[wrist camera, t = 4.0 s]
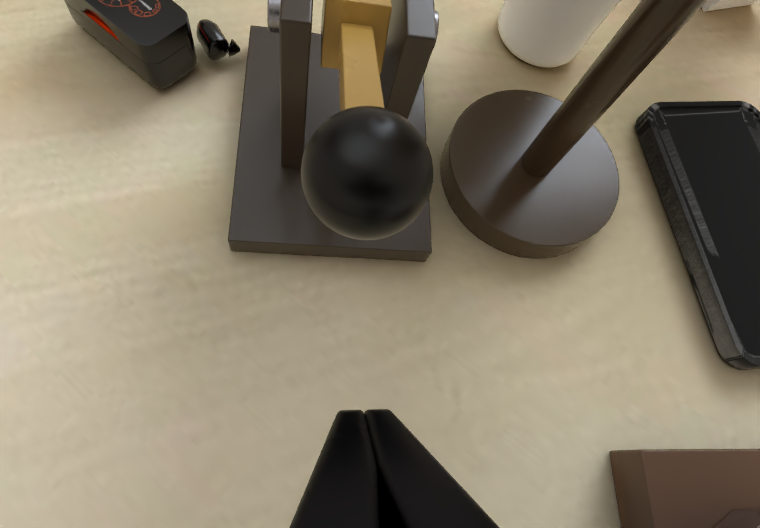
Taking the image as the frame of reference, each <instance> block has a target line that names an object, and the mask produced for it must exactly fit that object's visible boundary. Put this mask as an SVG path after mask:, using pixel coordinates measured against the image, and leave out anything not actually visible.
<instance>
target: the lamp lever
mask: <svg viewBox="0 0 760 528" xmlns="http://www.w3.org/2000/svg"><path fill="white" fill-rule="evenodd" d="M391 11H392V5H391V0H323V12H322V25H321V67H324V68H333V69H339V94H340V112H338V113H336V114H334V115H333V116H331V117H330V118H328V119H327V120H325V121H324V122H323V123H322V124H321V125H320V126H319V127H318V128H317V129H316V131H315V132H314V133H313V135H312V136H311V138H310V139H309V141H308V143H307V145H306V148H305V151H304V154H303V157H302V164H301V183H302V188H303V192H304V195H305V197H306V200H307V202H308V204H309V206H310V208H311V209H312V211H313V212H314V214H315V215H316V216H317V217H318V218H319V219H320V220H321V222H322V223H324V224H325V225H326V226H327V227H329V228H330V229H332V230H333V231H335V232H337V233H338V234H340V235H343V236H345V237H349V238H352V239H357V240H377V239H382V238H386V237H389V236H392V235H394V234H396V233H398V232H400V231H401V230H403V229H405V228H406V227H407V226H408V225H410V224H411V223H412V222H413V221H414V220H415V219H416V218H417V216H418V215H419V214H420V213H421V211H422V210H423V208H424V206H425V205H426V203H427V201H428V198H429V195H430V192H431V188H432V183H433V164H432V158H431V154H430V151H429V148H428V146H427V144H426V142H425V140H424V138H423V137H422V135H421V134H420V132H419V131H418V130H417V128H416V127H415V126H414V125H413V124H412V123H410V122H409V121H408V120H407V119H406V118H404V117H403V116H401V115H399V114H397V113H396V112H394V111H391V110H389V109H386V108H384V101H383V94H382V87H381V81H380V74H381V71H382V65H383V59H384V53H385V47H386V41H387V35H388V29H389V23H390V17H391Z"/></svg>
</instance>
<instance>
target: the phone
mask: <svg viewBox="0 0 760 528" xmlns="http://www.w3.org/2000/svg"><path fill="white" fill-rule="evenodd" d="M635 127H636V132H637V134H638V137H639V140H640V142H641V145H642V148H643V150H644V153H645V156H646V159H647V161H648V164H649V167H650V169H651V172H652V175H653V177H654V180H655V183H656V185H657V188H658V191H659V194H660V196H661V199H662V202H663V204H664V207H665V210H666V212H667V215H668V218H669V220H670V223H671V226H672V229H673V231H674V234H675V237H676V239H677V242H678V245H679V247H680V250H681V253H682V255H683V258H684V261H685V263H686V266H687V269H688V272H689V274H690V277H691V280H692V282H693V285H694V288H695V290H696V293H697V296H698V298H699V301H700V304H701V306H702V309H703V312H704V315H705V317H706V320H707V323H708V325H709V328H710V331H711V333H712V336H713V339H714V341H715V344H716V347H717V349H718V351H719V353H720V355H721V357H722V358H723V359H724V360H725V361H726V362H727V363H728V364H729V365H731V366H732V367H734V368H737V369H742V370H747V369H754V368H760V112H759V111H758V110H757V109H756V108H755V107H754V106H752V105H751V104H749V103H747V102H743V101H707V102H659V103H654V104H653V105H651V106H650V107H649V108H648V109H647V110H646V111H645V112H644V113H643V114H642V115H641V116H640V117H639V118H638V119H637V121H636V126H635Z"/></svg>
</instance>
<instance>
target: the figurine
mask: <svg viewBox="0 0 760 528" xmlns="http://www.w3.org/2000/svg"><path fill="white" fill-rule="evenodd" d="M759 1H760V0H707V1H706V2H705V3H704V4H703V5H702V6H701V8H702V9H703V11H704V12H706V11H712V10H719V9H725V8H732V7H739V6H745V5H752V4H754V3H757V2H759Z"/></svg>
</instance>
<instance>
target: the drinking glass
mask: <svg viewBox="0 0 760 528" xmlns="http://www.w3.org/2000/svg"><path fill="white" fill-rule="evenodd" d="M620 1H621V0H504V3H503V5H502V7H501V9H500V12H499V16H498V30H499V34H500V36H501V39H502V41H503V42H504V44H505V45H506V47H507V48H508V49H509V50H510V51H511V52H512V53H513V54H514V55H515V56H517V57H518V58H519V59H521V60H523V61H525V62H527V63H529V64H532V65H535V66H539V67H558V66H561V65H564V64H566V63H568V62H570V61H571V60H573V59H574V58H575V57H576V56H577V55H578V54H579V53H580V51H581V50H582V49H583V47H584V46H585V45H586V43H587V42H588V40H589V39H590V38H591V36H592V35H593V33H594V32H595V31H596V30H597V29H598V27H599V26H600V25H601V24H602V23H603V21H604V20H605V19H606V18H607V17H608V16H609V14H610V13H611V12H612V11H613V10H614V8H615V7H616V6H617V5H618V4H619V3H620Z"/></svg>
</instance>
